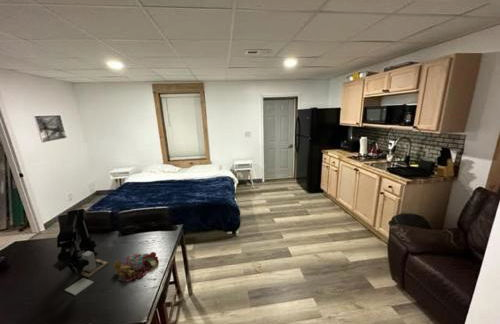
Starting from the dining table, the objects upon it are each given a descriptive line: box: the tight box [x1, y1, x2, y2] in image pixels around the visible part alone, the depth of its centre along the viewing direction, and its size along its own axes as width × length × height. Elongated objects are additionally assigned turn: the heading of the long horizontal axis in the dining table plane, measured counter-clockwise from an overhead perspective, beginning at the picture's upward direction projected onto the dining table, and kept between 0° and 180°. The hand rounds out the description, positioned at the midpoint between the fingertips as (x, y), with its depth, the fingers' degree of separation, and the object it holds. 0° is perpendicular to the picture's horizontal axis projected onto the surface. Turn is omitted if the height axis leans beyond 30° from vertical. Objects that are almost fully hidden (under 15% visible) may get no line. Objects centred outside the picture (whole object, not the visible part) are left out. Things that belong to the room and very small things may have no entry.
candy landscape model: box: [112, 251, 160, 283], centre depth 137 cm, size 25×24×9 cm
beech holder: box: [80, 258, 109, 278], centre depth 138 cm, size 12×13×1 cm
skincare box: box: [81, 251, 97, 273], centre depth 136 cm, size 6×4×12 cm
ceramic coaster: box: [64, 277, 95, 296], centre depth 123 cm, size 10×10×1 cm
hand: (76, 274), depth 121 cm, fingers open, 5 cm apart
